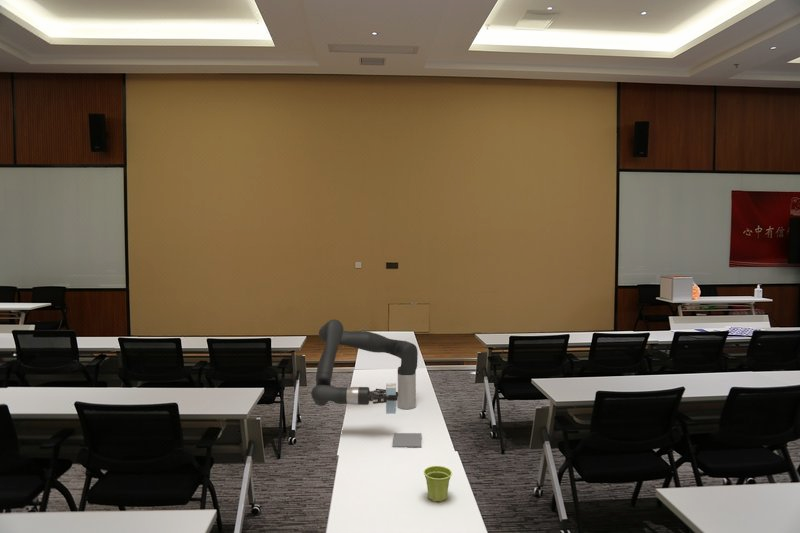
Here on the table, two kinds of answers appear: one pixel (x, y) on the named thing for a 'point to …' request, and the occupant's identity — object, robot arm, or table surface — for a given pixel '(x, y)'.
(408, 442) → the mat
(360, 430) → the table surface
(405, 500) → the table surface
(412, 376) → the robot arm
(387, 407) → the blue block
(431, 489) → the plant pot
